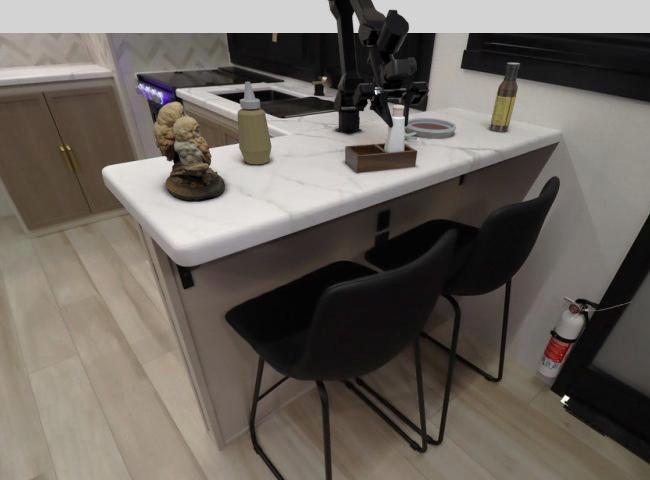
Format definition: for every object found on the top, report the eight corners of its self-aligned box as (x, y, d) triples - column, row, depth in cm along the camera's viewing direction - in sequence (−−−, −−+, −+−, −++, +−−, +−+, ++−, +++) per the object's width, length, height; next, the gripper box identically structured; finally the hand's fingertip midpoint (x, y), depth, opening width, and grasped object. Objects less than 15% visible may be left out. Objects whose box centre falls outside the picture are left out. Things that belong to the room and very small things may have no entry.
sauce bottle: (501, 127, 134) (518, 61, 122) (511, 132, 130) (529, 64, 117) (485, 127, 133) (500, 61, 121) (494, 132, 128) (511, 64, 116)
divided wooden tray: (345, 162, 100) (345, 146, 97) (400, 156, 104) (402, 141, 102) (357, 172, 93) (357, 156, 91) (415, 166, 98) (417, 150, 96)
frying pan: (372, 128, 118) (424, 114, 134) (372, 138, 120) (423, 123, 136) (416, 140, 109) (466, 123, 125) (415, 150, 111) (464, 132, 127)
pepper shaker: (406, 155, 97) (411, 108, 90) (385, 155, 96) (389, 107, 89) (402, 148, 101) (407, 103, 94) (382, 148, 100) (386, 102, 94)
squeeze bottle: (279, 159, 99) (272, 81, 88) (261, 168, 93) (251, 86, 82) (254, 154, 102) (244, 78, 91) (234, 163, 96) (221, 82, 85)
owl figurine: (237, 196, 80) (223, 107, 69) (180, 208, 74) (154, 114, 64) (210, 170, 91) (194, 91, 81) (159, 179, 86) (134, 95, 75)
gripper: (359, 42, 84) (375, 108, 83) (431, 43, 90) (448, 104, 89) (346, 77, 95) (360, 135, 94) (411, 76, 100) (426, 131, 99)
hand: (399, 126), depth 93 cm, fingers closed on pepper shaker, 4 cm apart
